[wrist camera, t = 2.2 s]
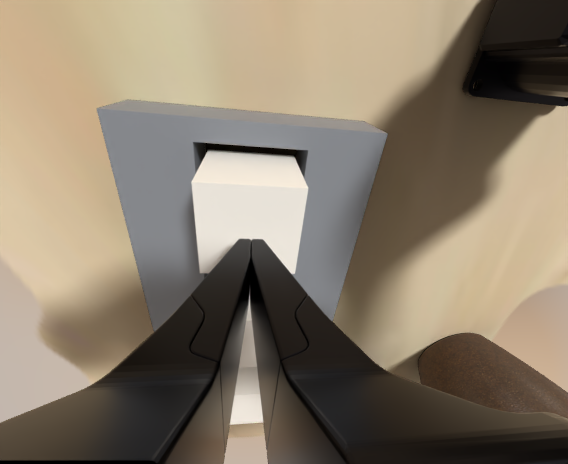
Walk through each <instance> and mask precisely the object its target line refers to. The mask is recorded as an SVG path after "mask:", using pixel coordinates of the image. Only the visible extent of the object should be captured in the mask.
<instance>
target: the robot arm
mask: <svg viewBox="0 0 568 464" xmlns="http://www.w3.org/2000/svg"><path fill="white" fill-rule="evenodd" d="M476 81H477V82H478V83H477V86H476V88H475V89H473V85H474V83H475V82H476ZM463 92H464V93H465V94H466V95H468V96H476V97H485V98H494V99H502V100H511V101H520V102H529V103H538V104H547V105H556V106H568V0H497V2H496V4H495V7H494V9H493V12H492V14H491V17H490V19H489V22H488V24H487V26H486V29H485V31H484V34H483V36H482V39H481V41H480V45H479V48H478V50H477V53H476V55H475V57H474V60H473V62H472V65H471V67H470V70H469V72H468V75H467V77H466V80H465V82H464V85H463ZM249 295H250V310H251V318H252V327H253V336H254V345H255V353H256V362H257V371H258V380H259V388H260V397H261V406H262V415H263V423H264V432H265V440H266V449H267V459H268V464H568V419H567V418H565V417H562V416H559V415H557V414H554V413H549V412H533V413H512V412H506V411H500V410H496V409H492V408H488V407H485V406H482V405H478V404H475V403H472V402H470V401H467V400H464V399H461V398H458V397H455V396H453V395H450V394H447V393H444V392H441V391H438V390H436V389H433V388H430V387H427V386H424V385H422V384H419V383H416V382H413V381H410V380H407V379H405V378H402V377H399V376H396V375H394V374H392V373H390V372H388V371H386V370H385V369H383V368H381V367H380V366H379V365H377V364H376V363H375V362H374V361H373V360H371V359H370V358H369V357H368V356H367V355H366V354H365V353H364V352H363V351H362V350H361V349H360V348H359V347H358V346H357V345H356V344H355V343H354V342H353V341H352V340H351V339H350V338H349V337H347V336H346V335H345V334H344V333H343V332H342V331H341V330H340V329H339V328H338V327H337V326H336V325H335V324H334V323H333V322H332V321H331V320H330V319H329V318H328V317H327V316H326V315H325V314H324V312H323V311H322V310H321V309H320V308H319V307H318V306H317V304H316V303H315V302H314V301H313V300H312V298H311V297H310V296H308V294H307V292H306V291H305V290H304V289H303V287H302V286H301V285H300V284H299V283H298V281H297V280H296V279H295V278H294V276H293V275H292V274H291V273H290V272H289V270H288V269H287V268H286V267H285V265H284V264H283V263H282V262H281V260H280V259H279V258H278V257H277V256H276V254H275V253H274V252H273V251H272V249H271V248H270V247H269V246H268V245H267V243H266V242H265V241H264V240H263V239H252V240H250V239H238V240H237V242H236V243H235V244H234V245H233V246H232V247H231V248H230V250H229V251H228V252H227V253H226V254H225V255H224V257H223V258H222V259H221V260H220V261H219V262H218V263H217V265H216V266H215V267H214V268H213V269H212V270H211V271H210V273H209V274H208V275H207V276H206V277H205V278H204V280H203V281H202V282H201V283H200V284H199V285H198V286H197V288H196V289H195V290H194V291H193V292H192V293H191V294H190V296H189V297H188V298H187V299H186V300H185V301H184V302H183V303H182V305H181V306H180V307H179V308H178V309H177V310H176V311H175V312H174V313H173V314H172V315H171V316H170V317H169V318H168V319H167V320H166V321H165V322H164V323H163V324H162V325H161V326H160V327H159V328H158V329H157V330H156V331H155V332H154V333H153V334H151V335H150V336H149V337H148V338H147V339H146V340H145V341H144V342H143V343H142V344H141V345H139V346H138V347H137V348H136V349H135V350H134V351H133V352H132V353H131V354H130V355H128V356H127V357H126V358H125V359H124V360H123V361H122V362H121V363H120V364H119V365H117V366H116V367H115V368H114V369H113V370H112V371H111V372H109V373H108V374H107V375H105V376H104V377H103V378H101V379H100V380H98V381H97V382H95V383H94V384H92V385H90V386H89V387H87V388H85V389H83V390H81V391H78V392H76V393H73V394H71V395H68V396H66V397H63V398H61V399H58V400H56V401H53V402H51V403H48V404H46V405H43V406H41V407H39V408H36V409H33V410H31V411H28V412H26V413H24V414H21V415H18V416H16V417H14V418H11V419H8V420H6V421H4V422H1V423H0V464H223V463H224V457H225V451H226V445H227V439H228V432H229V426H230V420H231V414H232V407H233V401H234V395H235V388H236V382H237V376H238V369H239V363H240V357H241V351H242V344H243V338H244V332H245V325H246V319H247V313H248V306H249Z"/></svg>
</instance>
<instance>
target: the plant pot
mask: <svg viewBox="0 0 568 464" xmlns="http://www.w3.org/2000/svg"><path fill="white" fill-rule="evenodd" d="M418 367H419V374H420V380H421V384H422V385H424V386H427V387H430V388H433V389H436V390H438V391H441V392H444V393H447V394H450V395H453V396H455V397H458V398H461V399H464V400H467V401H470V402H472V403H475V404H478V405H482V406H485V407H488V408H492V409H496V410H500V411H506V412H512V413H533V412H549V413H554V414H557V415H559V416H562V417H565V418H567V419H568V393H567V392H566V391H565V390H563V389H562V388H561V387H559V386H557V385H556V384H555V383H553V382H552V381H551V380H549V379H548V378H546V377H545V376H544V375H542V374H540V373H539V372H538V371H536V370H535V369H533V368H532V367H530V366H529V365H527V364H526V363H524V362H523V361H521V360H520V359H518V358H517V357H515V356H513V355H512V354H510V353H509V352H507V351H506V350H504V349H503V348H501V347H499V346H498V345H496V344H495V343H493V342H491V341H490V340H488V339H486V338H485V337H483V336H481V335H478V334H474V333H462V334H456V335H453V336H449V337H447V338H444V339H442V340H440V341H438V342H436V343H434V344H433V345H431V346H430V347H429V348H427V349H426V350H425V351H424V352H423V354H422V355H421V357H420V359H419V362H418Z"/></svg>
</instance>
